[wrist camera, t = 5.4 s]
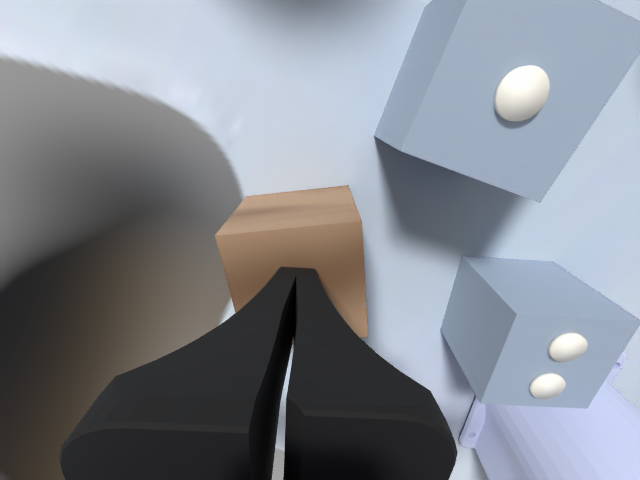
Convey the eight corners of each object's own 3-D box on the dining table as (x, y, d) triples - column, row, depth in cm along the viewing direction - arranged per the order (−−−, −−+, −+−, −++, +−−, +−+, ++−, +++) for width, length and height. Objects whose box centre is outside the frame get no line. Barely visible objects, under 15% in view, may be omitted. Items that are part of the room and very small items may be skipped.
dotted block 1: (470, 171, 14) (544, 204, 10) (373, 135, 14) (402, 152, 9) (535, 51, 12) (669, 18, 8) (426, 2, 12) (498, -68, 7)
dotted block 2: (520, 333, 18) (590, 412, 14) (440, 329, 18) (482, 407, 14) (552, 261, 16) (647, 324, 12) (461, 255, 16) (519, 317, 12)
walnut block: (354, 273, 17) (368, 337, 12) (264, 282, 17) (245, 348, 12) (348, 184, 15) (361, 220, 10) (246, 195, 15) (214, 235, 10)
